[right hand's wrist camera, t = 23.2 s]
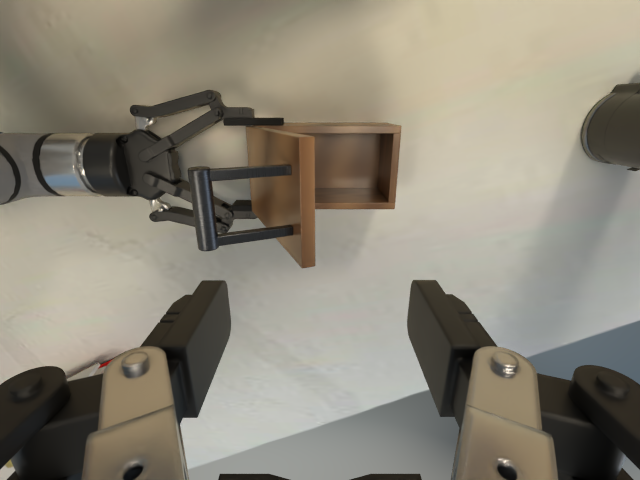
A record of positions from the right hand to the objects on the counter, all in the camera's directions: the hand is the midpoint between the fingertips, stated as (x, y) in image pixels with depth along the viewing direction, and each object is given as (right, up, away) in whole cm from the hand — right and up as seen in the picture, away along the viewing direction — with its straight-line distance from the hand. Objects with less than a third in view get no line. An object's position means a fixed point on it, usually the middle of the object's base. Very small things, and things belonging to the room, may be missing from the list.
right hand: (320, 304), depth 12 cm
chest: (+1, +13, +36) cm, 38 cm away
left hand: (-4, +11, +30) cm, 32 cm away
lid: (-4, +7, +20) cm, 21 cm away
